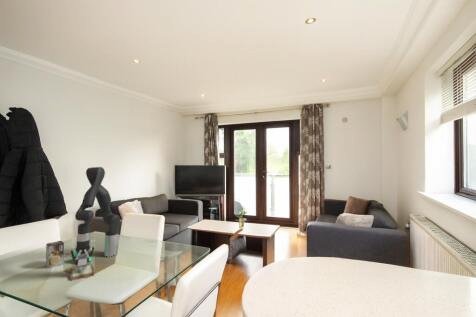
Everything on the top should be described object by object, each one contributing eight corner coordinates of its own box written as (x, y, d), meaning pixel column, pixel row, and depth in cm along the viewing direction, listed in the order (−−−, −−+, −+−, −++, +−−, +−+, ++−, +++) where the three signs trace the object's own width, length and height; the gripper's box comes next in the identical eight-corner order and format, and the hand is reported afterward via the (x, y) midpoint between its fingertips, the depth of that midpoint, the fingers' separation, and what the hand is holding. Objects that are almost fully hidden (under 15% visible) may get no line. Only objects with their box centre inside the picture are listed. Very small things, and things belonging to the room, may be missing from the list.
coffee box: (60, 261, 179) (61, 240, 179) (63, 264, 175) (64, 242, 175) (45, 265, 172) (46, 243, 171) (48, 268, 168) (49, 246, 167)
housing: (85, 261, 170) (86, 252, 169) (86, 266, 163) (87, 257, 163) (77, 263, 167) (77, 253, 166) (77, 268, 160) (78, 258, 160)
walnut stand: (91, 267, 174) (92, 264, 174) (93, 275, 164) (94, 272, 164) (70, 271, 167) (70, 268, 166) (70, 280, 156) (70, 277, 156)
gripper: (94, 235, 172) (93, 258, 172) (70, 238, 163) (69, 263, 164) (96, 239, 165) (94, 263, 166) (70, 242, 157) (69, 268, 158)
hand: (81, 263), depth 165 cm, fingers closed on housing, 5 cm apart
